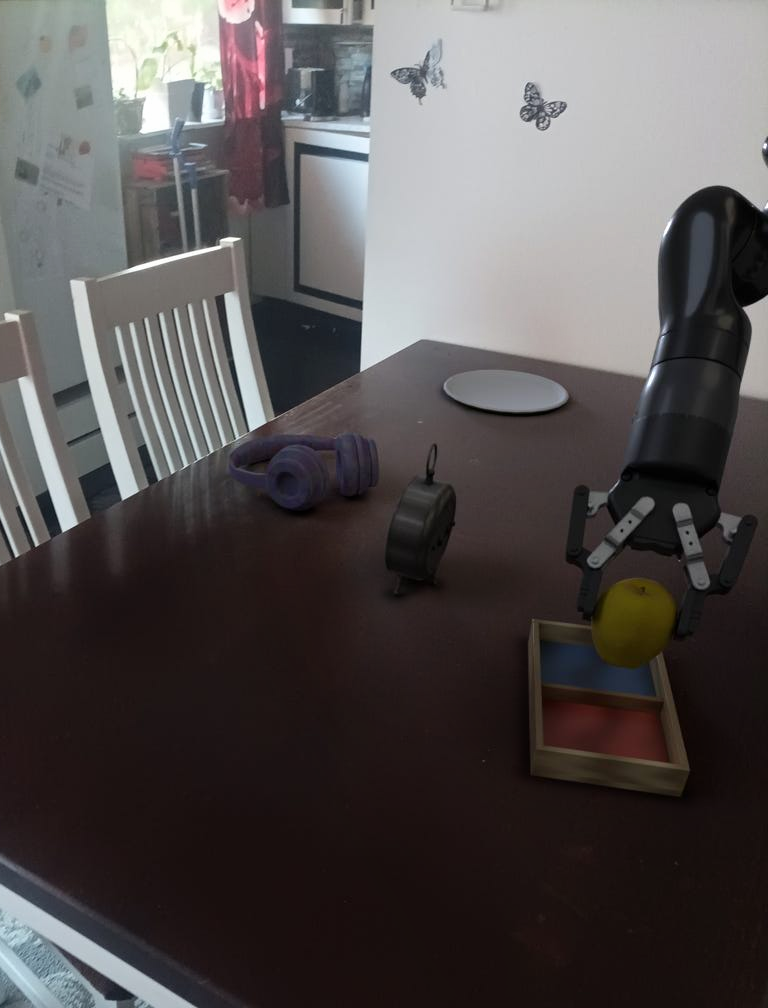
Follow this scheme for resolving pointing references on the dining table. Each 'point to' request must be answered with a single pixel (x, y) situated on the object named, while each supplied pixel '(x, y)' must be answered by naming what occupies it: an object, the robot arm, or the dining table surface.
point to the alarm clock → (420, 527)
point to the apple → (633, 622)
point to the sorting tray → (600, 715)
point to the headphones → (306, 467)
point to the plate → (506, 391)
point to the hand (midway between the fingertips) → (632, 628)
